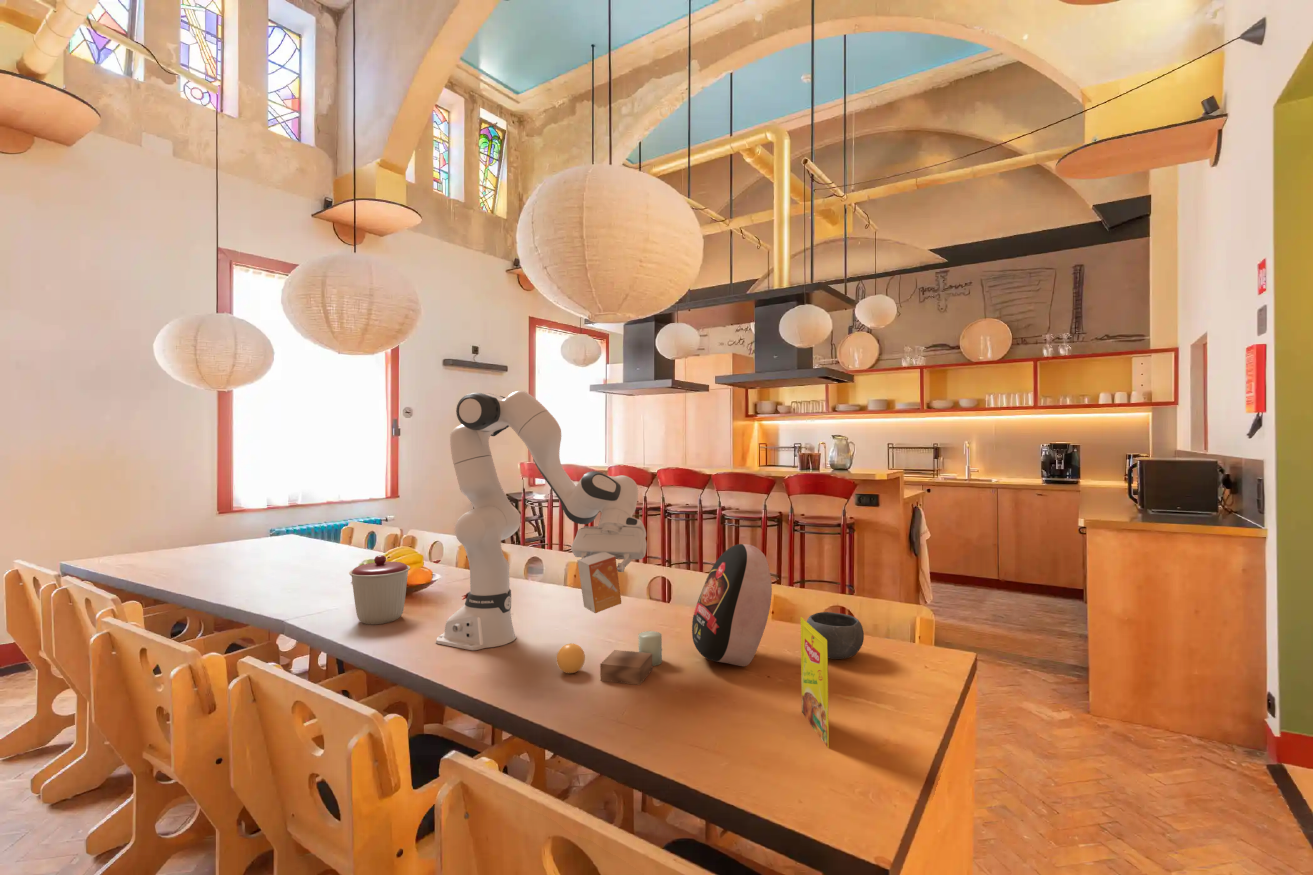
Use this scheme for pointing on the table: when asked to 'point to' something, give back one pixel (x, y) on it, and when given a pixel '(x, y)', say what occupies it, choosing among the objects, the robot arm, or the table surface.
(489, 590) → the robot arm
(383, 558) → the canister
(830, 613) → the bowl
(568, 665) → the orange
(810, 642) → the food package
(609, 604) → the small box
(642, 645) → the pale green cylinder
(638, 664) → the brown block
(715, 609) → the packaged food
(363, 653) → the table surface
